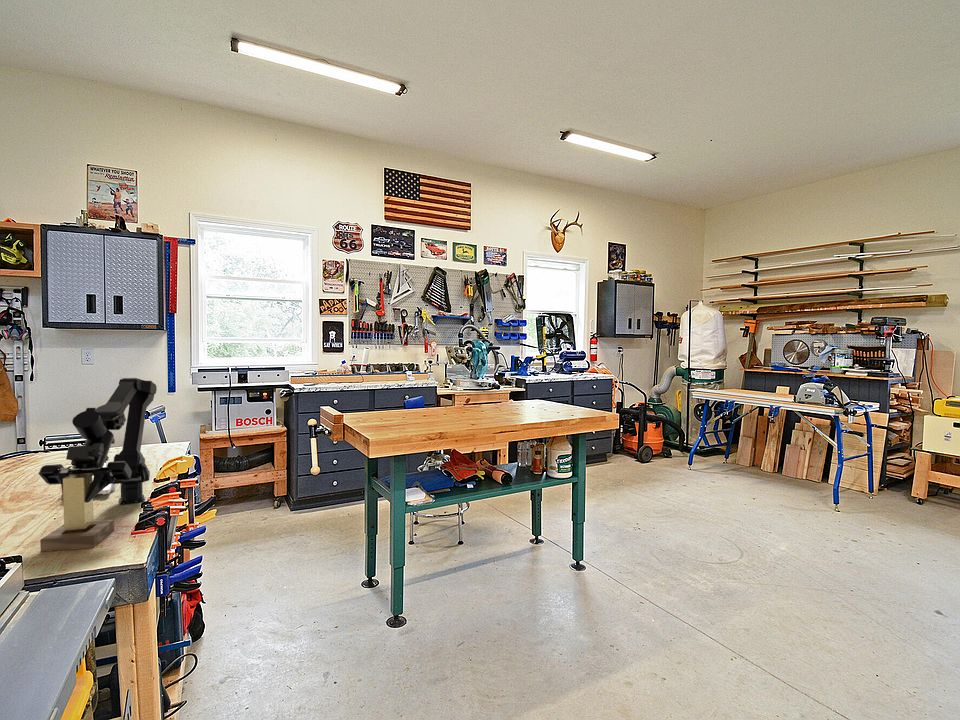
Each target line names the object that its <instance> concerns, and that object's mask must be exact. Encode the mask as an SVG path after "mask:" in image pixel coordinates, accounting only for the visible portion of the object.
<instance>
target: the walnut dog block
mask: <svg viewBox="0 0 960 720" xmlns="http://www.w3.org/2000/svg"><path fill="white" fill-rule="evenodd" d="M113 532H115V519H106V520H105V519H103V520H94V523H92V524H91V525H89V526H88V527H87V528H85V529H76V530H64V524H62V525H60V526H59V527H58V528H56V529H55V530H53V531H51V532H50V533H49V534H47V535H45V536H44V537H42V538H41V539H40V541H39V543H40V546H39V547H40V552H41V551H46V552H51V551H50V550H57V551H65V550H64V549H68V550H76V549H77V550H79V549H89V548H95V547H96V546H97V545H99V543H101V542H102V541H103V540H105V539H106V538H108V536H110V535H111V534H112V533H113Z"/></svg>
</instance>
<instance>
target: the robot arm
mask: <svg viewBox="0 0 960 720" xmlns="http://www.w3.org/2000/svg"><path fill="white" fill-rule="evenodd" d="M157 390H158V389H157V385H156V383H155V382H153V381H152V380H143V379H141V378H137V377H123V378H120V379H119V381H118V385H117V386H116V389H115V390H114V391H113V393H112V394H111V396H110V397H109V399H108V400H107V401H106V403H105V404H103V405H100V406H98V407H86V408H85V410H84V411H82V412H79V413H78V414H77V415H75V416H74V417H73V418H72V420H71V421H72V425H73V426H74V428H75V429H76V431H77V432H78V433H79V435H80V437H81V438H82V439H84V440H85V442H84V444H83V445H70V446H68V448H67V453H66V458H65V459H66V460H67V461H68V460H69V461H71V462H70V465H72V467H73V466H75V469H73V468H70V467H64V465H63V464H62V463H60V464H59V463H57V464H56V463H55V464H45V465H43V466H42V467H41V468H40V469H39V472H38V475H39V477H41V479H43V482H45V483H46V484H47V485H61V493H62V496H61V497H63V479H64V478H66V477H68V476H70V475H72V474H83V473H92V476H94V478H93V482H92V484H91V486H90V489H89V491H88V493H87V496H86V500H85V501H86V502H87V503H88V502H90V501H91V500H92V499H93V500H94V498H95V497H96V496H97V495H99V494H98V493H99V492H100V491H101V490H103V489H104V488H105V487H106V486H108V485H109V484H112V483H113V484H117V485H119V484H120V498H118V501H119V505H120V506H121V505H122V506H123V505H128V504H132V503H133V504H134V503H140V502H145V501H146V498H145V494H143V493H144V490H143V488H144V487H143V484H144V483H146V482H149V481H150V477H151V475H150V474H151V473H150V470H149V468H148V467H147V465H146V459H145V457H144V456H143V453H142V452H141V449H142V440H143V434H144V427H145V420H146V414H147V408H148V407H149V406H150V405H151V404H152V402H154V397H155V395H156V394H157ZM127 408H128V410H127V411H128V412H127V419H126V416H125V411H126V409H127ZM125 423H126V424H125ZM124 425H126V426H125V431H124V436H123V437H124V438H123V443H122V449H121V451H120V452H119V453H117V454H115V455H114V456H113V461H109V458H110V457H109V456H108V454H109V452H110V449H111V446H112V445H114V444H115V443H116V441H115V436H114V433H113V432H112V431H120V430H121V429H122V428H123V426H124ZM105 461H106V462H108V463H107V464H106V465H107V467H103V466H104V463H105Z"/></svg>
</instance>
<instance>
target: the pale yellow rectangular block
mask: <svg viewBox="0 0 960 720" xmlns="http://www.w3.org/2000/svg"><path fill="white" fill-rule="evenodd" d="M92 482H93V476H92V473H83V474H72V475H70V476H68V477H66V478H64V479H63V496H62V504H63V525H64V530H76V529H85V528H87V527H88V526H89V525H91V524H92V523H94V521H95V520H94V516H95V515H94V498H93V499H92V500H91V501H90V502H88V503H87V502H86V501H85V500H86V496H87V493H88V491H89V489H90V486H91V484H92Z"/></svg>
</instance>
